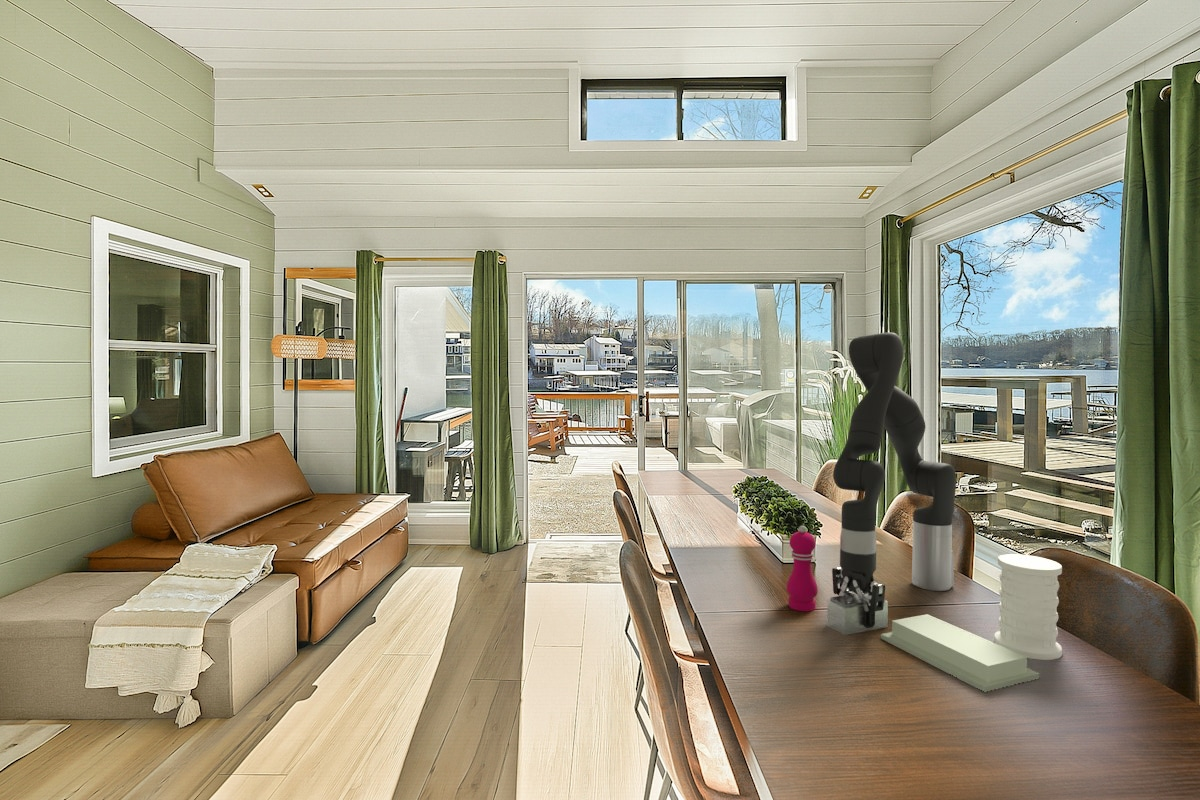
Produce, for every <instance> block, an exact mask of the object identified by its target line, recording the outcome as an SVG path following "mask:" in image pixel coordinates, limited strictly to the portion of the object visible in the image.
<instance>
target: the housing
mask: <svg viewBox="0 0 1200 800" xmlns="http://www.w3.org/2000/svg"><path fill="white" fill-rule="evenodd" d="M868 595H869V594H868V593H867V594H864V596H868ZM826 601H827V607H826V608H827V610H826V612H827V613H826V614H827V616H826V618H827V620H826V624H827V625H826V626H827V627H829V628H832V629H833V630H835V631H837V632H838V633H840V634H842V635H844V636H846V635H847V636H848V635H851V634H858V633H863V632H868V631H874V630H879V629H884V628H888V626H889V625H888V624H889V622H888V621H889V620H888V619H889V615H888V614H889V609H888V608H889V601H888V600H886V598H885V597H884V607H883V610H881V611H876V612H875V625H874V626H873V627H871V628H866V627H864V611H865V609H864V606H863V603H862V601H860V600H859V597H858V595H857V594H856V593H852V594H850V595H844V596H832V597H830V598H829V599H827V600H826ZM867 601H868V604H869V605H870V602H869V600H867ZM877 605H878V602H877Z"/></svg>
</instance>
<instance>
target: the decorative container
mask: <svg viewBox="0 0 1200 800" xmlns="http://www.w3.org/2000/svg"><path fill="white" fill-rule="evenodd" d="M997 565H998V566H999V567H1000V568H1001V572H1000V574H999V581H1000V582H1001V583H1000V584H1001V586H1000V587H999V590H998V593H999V594H998V595H999V596H1000V602H999V604H998V609H999V612H1000V616H999V618H998V626H999V630H997V631H995V633H994V635H993V641H994V642H993V643H996V644H998V645H1000V646H1003V647H1005V648H1007V649H1009V650H1012V651H1014V652H1016V653H1019V654H1021V655H1023V656H1026V657H1027V659H1031V660H1032V659H1033V660H1039V661H1052V660H1053V661H1054V660H1058V659H1060V658H1061V657H1062V655H1063V648H1062V645H1061V644H1060V643H1058V642H1057V637H1058V636H1059V630H1058V628H1057V622H1058V620H1059V613H1058V612H1057V611H1058V610H1057V609H1058V608H1057V607H1058V606H1059V604H1060V600H1059V597H1058V591H1059V589H1060V582H1059V581H1058V577H1059V575H1062V573H1063V566H1062V564H1060V563H1059V562H1057V561H1054V560H1052V559H1049V558H1045V557H1042V556H1036V555H1030V554H1021V553H1020V554H1019V553H1018V554H1017V553H1006V554H1000V555H999V556H998V557H997Z"/></svg>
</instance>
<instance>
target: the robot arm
mask: <svg viewBox="0 0 1200 800" xmlns="http://www.w3.org/2000/svg"><path fill="white" fill-rule="evenodd" d="M848 355H849V358H850V363H851V365H852V367H853V370H854V371H855V373H856V374H857V376H858V378H859V379H860V381H861V383H862V384H863V386H864V388H865V389H866V391H867V392H866V394H865V395H864V396H863V397H862V399H860V401H859V403H858V404H857V405H856V407H855V408H854V410H853V413H852V416H851V418H850V424H849V429H848V435H847V440H846V442H845V445H844V448H843V450H842V451H841V454H840V455H839V457H838V459H837V460H836V463H835V465H834V467H833V473H832V479H833V481H834V484H835V485H836V486H837V487H838V488H839V489H841V490H845V491H855V492H856V491H857V492H863V493H865V494H864V497H863V498H862V499H853V500H852V499H851V500H846V501H844V502H843V503H842V506H841V528H840V529H841V530H840V535H839V536H840V537H839V565H840V567H833V568H832V569H831V573H832V591H833V594H834V595H838V596H844V595H850V594H857V595H858V597H859V600H860V601H862V603H863V606H864V609H865V611H864V627H866V628H871V627H873V626H874V625H875V612H876V611H881V610H883V607H884V598H885V594H886V585H885V584H884V583H878V582H876V581H875V579H874V574H875V571H876V570H877V534H876V533H877V532H876V517H877V516H876V513H877V512H876V511H877V508H878V507H877V506H878V501H879V498H880V494H881V491H882V488H883V485H884V484H885V479H886V470H885V468H884V466H883V465H882V463H880V462H879V461H877V460H872V459H859V458H860V457H861V456H865V455H871V454H875V453H877V452H879V450H880V449H881V444H882V438H883V431H884V429H885V431H886V433H887V435H888V437H889V439H890V441H891V444H892V446H893V448H894V451H895V453H896V455H897V458H898V461H899V463H900V467H901V469H902V474H903V477H904V479H905V482H906V485H907V486H908V488H909V490H910V491H911V492H912V493H913V494H917V495H921V496H926V497H932V503H931V504H930V505H929V506H923V507H917V508H915V509H914V510H913V512H912V550H911V551H912V557H911V558H912V560H911V561H912V563H911V565H912V566H911V584H912V585H913V586H915V587H917V588H920V589H924V590H927V591H933V592H934V591H937V592H939V591H940V592H942V591H944V592H945V591H949V590H950V589H951V588H952V587H954V585H955V584H954V579H955V577H954V573H955V552H954V550H953V549H952V546H953V545H952V543H953V541H952V540H953V538H952V537H953V536H952V535H953V517H954V513H955V512H954V511H955V500H956V488H957V475H956V470H955V469H954V466H953V465H951V464H949V463H946V462H945V463H944V462H937V461H930V460H924V459H923V458H922V457H921V455H920V452H919V446H920V443H921V441H922V439H923V437H924V435H925V433H926V421H925V418H924V416H923V414H922V412H921V409H920V406H919V405H918V402H917V401H915V399H914V398H913V397H912V396H911V395H910V394H907V393H906V392H905V391H903V390H902V389H900V388H899V387H898V386H896V384H897V380H898V377H899V374H900V371H901V368H902V364H903V360H904V359H903V358H904V345H903V342H902V340H901V337H900V336H899V335H898V334H897V333H895V332H893V331H892V332H891V331H889V332H880V333H874V334H868V335H863V336H858V337H855V338H853V339H851V341H850V343H849V345H848ZM867 593H868V594H869V595H868V596H864V594H867ZM867 600H869V602H870V605H869V604H868V601H867ZM877 602H878V605H877Z"/></svg>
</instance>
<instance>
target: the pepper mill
mask: <svg viewBox="0 0 1200 800" xmlns="http://www.w3.org/2000/svg"><path fill="white" fill-rule="evenodd" d="M815 539H816V538H815V537H814V536H813V535H812V534H811V533H810V532H807V527H806V526H805V525H800V526H799V527H798V531H796V532H794V533H792V534H791V536H790V538H789V546H790V548H791V549H792V551H791V558H792V559H793V569H792V571H791V574H790V576H788V580H787V583H786V592H787V593H788V594H789V597H788V607H789V608H790V609H792V610H794V611H798V612H812V611H814V610H816V600H815V599H814V598H815V597H816V596H817V595H818V585H817V582H816V579H815V577H814V575H813V571H812V560H813V559H814V552H813V551H814V550H815V548H816V540H815Z"/></svg>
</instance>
